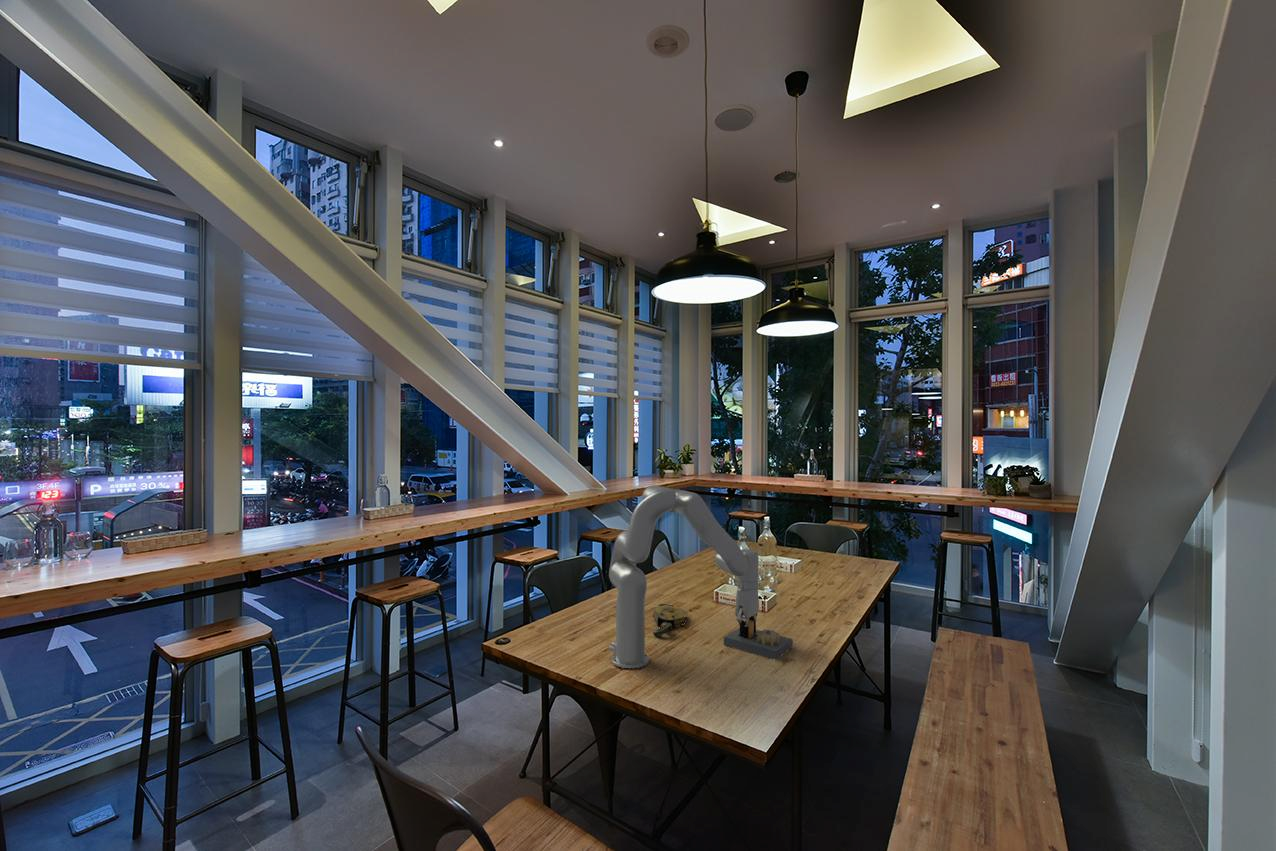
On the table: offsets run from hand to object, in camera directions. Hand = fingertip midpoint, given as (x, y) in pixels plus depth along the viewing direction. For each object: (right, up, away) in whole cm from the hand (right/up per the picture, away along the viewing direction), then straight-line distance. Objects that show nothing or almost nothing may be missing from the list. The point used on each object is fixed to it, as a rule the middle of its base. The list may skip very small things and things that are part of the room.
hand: (747, 634), depth 195 cm
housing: (+3, -3, -3) cm, 5 cm away
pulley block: (-28, -4, +18) cm, 34 cm away
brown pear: (0, -4, 0) cm, 4 cm away
